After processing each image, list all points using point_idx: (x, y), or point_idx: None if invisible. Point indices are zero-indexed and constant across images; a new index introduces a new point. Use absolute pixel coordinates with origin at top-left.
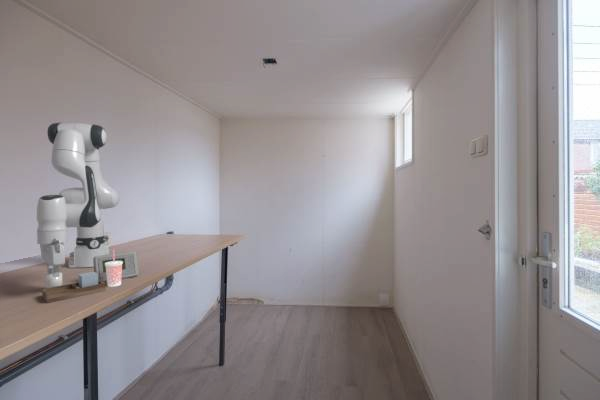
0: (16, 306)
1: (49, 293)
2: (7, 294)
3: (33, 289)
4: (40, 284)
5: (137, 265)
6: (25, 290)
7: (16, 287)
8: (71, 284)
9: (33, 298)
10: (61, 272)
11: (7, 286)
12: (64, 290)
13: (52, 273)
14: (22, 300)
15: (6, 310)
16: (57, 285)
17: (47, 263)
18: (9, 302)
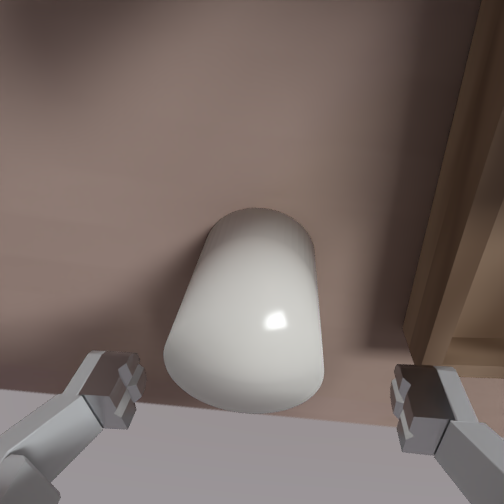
0: (475, 412)
1: (466, 323)
2: (186, 403)
3: (156, 331)
4: (36, 292)
5: None
6: (154, 356)
7: (54, 369)
8: (498, 202)
9: (390, 357)
10: (218, 314)
11: (11, 386)
12: (497, 242)
13: (205, 372)
14: (378, 387)
15: (500, 435)
16: (315, 273)
17: (54, 498)
18: (359, 415)
